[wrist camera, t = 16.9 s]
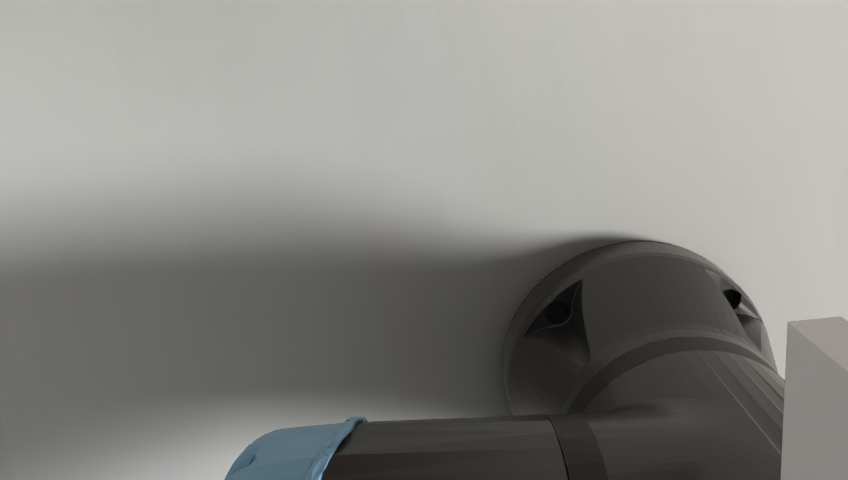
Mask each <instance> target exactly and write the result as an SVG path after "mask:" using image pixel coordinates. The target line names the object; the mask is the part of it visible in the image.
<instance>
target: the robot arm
mask: <svg viewBox="0 0 848 480" xmlns="http://www.w3.org/2000/svg"><path fill="white" fill-rule="evenodd" d="M502 371H503V381H504V386H505V391H506V395H507V399H508V403H509V407H510V411H511V413H512V416H500V417H482V418H456V419H429V420H402V421H375V422H368V421H367V420H366V419H365V417H352V418H350V419H347V420H346V421H345V422H344V423H337V424H326V425H316V426H306V427H296V428H285V429H279V430H275V431H272V432H270V433H267V434H265V435H263V436H261V437H260V438H258V439H257V440H255V441H254V442H253V443H252V444H250V445H249V446H248V447H247V448H246V449H245V450H244V451H243V452H242V453H241V454H240V456H239V457H238V458H237V459H236V461H235V462H234V463H233V465H232V467H231V468H230V470H229V472H228V474H227V476H226V478H225V480H848V321H846V320H845V319H844V318H842V317H831V318H822V319H812V320H802V321H793V322H788V325H787V347H786V370H785V381H784V380H783V379H782V378H781V377H780V376H779V375H778V372H777V368H776V364H775V360H774V357H773V353H772V349H771V346H770V342H769V338H768V335H767V331H766V328H765V326H764V323H763V321H762V318H761V317H760V315H759V313H758V311H757V309H756V307H755V306H754V304H753V303H752V301H751V300H750V298H749V297H748V296H747V295H746V293H745V292H744V291H743V290H742V289H741V288H740V287H739V286H738V285H737V284H736V283H735V282H734V281H733V280H732V279H731V278H729V277H728V276H727V275H726V274H725V273H724V272H723V271H722V270H721V269H720V268H718V267H717V266H716V265H714V264H713V263H712V262H710V261H708V260H707V259H705V258H704V257H702V256H700V255H698V254H696V253H694V252H691V251H689V250H686V249H683V248H681V247H677V246H673V245H669V244H664V243H657V242H625V243H618V244H613V245H608V246H604V247H600V248H597V249H594V250H591V251H589V252H586V253H584V254H581V255H579V256H577V257H575V258H573V259H571V260H570V261H568V262H566V263H564V264H563V265H561V266H560V267H558V268H557V269H555V270H554V271H553V272H552V273H550V274H549V275H548V276H547V277H545V278H544V279H543V280H542V281H541V282H540V283H539V284H538V285H537V286H536V287H535V288H534V289H533V290H532V292H531V293H530V294H529V295H528V296H527V298H526V299H525V300H524V302H523V303H522V305H521V306H520V308H519V310H518V311H517V313H516V315H515V317H514V319H513V321H512V323H511V326H510V328H509V331H508V334H507V337H506V341H505V345H504V351H503V361H502Z"/></svg>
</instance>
